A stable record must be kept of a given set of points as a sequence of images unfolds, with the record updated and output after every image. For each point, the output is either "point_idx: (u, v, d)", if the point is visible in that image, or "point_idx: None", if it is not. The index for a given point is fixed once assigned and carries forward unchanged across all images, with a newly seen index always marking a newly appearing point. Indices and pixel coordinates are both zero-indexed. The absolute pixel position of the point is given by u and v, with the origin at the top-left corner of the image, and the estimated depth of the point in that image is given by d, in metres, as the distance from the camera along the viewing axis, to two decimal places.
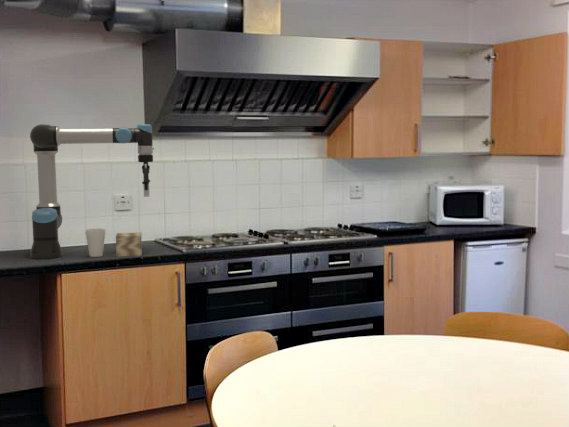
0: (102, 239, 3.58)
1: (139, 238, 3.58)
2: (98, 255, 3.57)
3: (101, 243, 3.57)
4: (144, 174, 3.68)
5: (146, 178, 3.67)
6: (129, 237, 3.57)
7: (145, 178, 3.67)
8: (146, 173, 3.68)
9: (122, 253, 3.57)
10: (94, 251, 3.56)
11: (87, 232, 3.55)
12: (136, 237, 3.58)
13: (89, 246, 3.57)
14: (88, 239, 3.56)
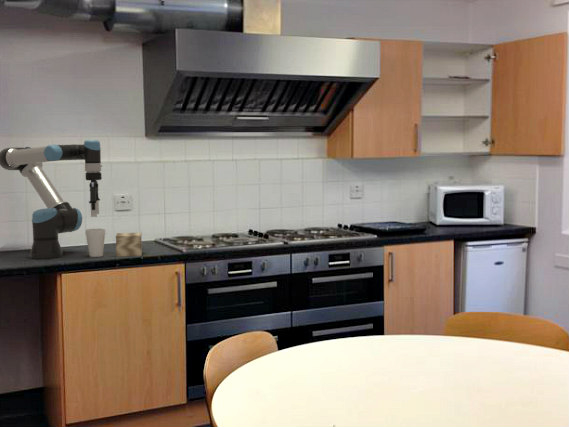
0: (102, 239, 3.58)
1: (139, 238, 3.58)
2: (98, 255, 3.57)
3: (101, 243, 3.57)
4: (91, 193, 3.48)
5: (93, 197, 3.48)
6: (129, 237, 3.57)
7: (92, 197, 3.48)
8: (93, 192, 3.49)
9: (122, 253, 3.57)
10: (94, 251, 3.56)
11: (87, 232, 3.55)
12: (136, 237, 3.58)
13: (89, 246, 3.57)
14: (88, 239, 3.56)
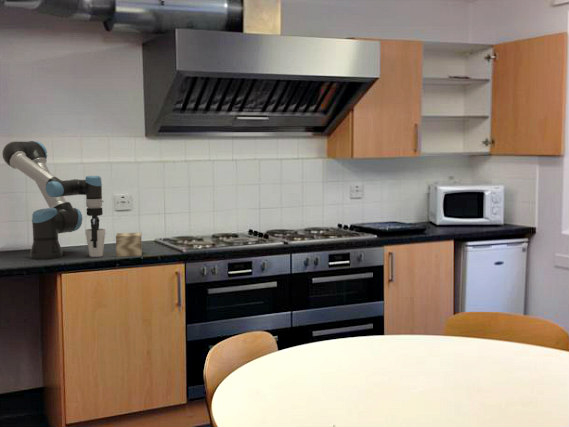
0: (102, 239, 3.58)
1: (139, 238, 3.58)
2: (98, 255, 3.57)
3: (101, 243, 3.57)
4: (92, 231, 3.51)
5: (94, 236, 3.51)
6: (129, 237, 3.57)
7: (93, 236, 3.51)
8: (94, 230, 3.52)
9: (122, 253, 3.57)
10: None
11: (87, 232, 3.55)
12: (136, 237, 3.58)
13: (89, 246, 3.57)
14: (88, 239, 3.56)
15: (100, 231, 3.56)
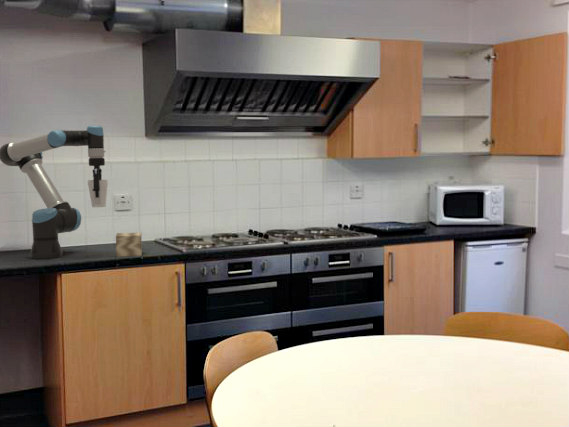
0: (104, 189, 3.55)
1: (139, 238, 3.58)
2: (100, 205, 3.55)
3: (103, 193, 3.55)
4: (94, 180, 3.49)
5: (96, 185, 3.49)
6: (129, 237, 3.57)
7: (95, 185, 3.49)
8: (96, 179, 3.49)
9: (122, 253, 3.57)
10: None
11: (89, 182, 3.53)
12: (136, 237, 3.58)
13: (91, 196, 3.54)
14: (90, 189, 3.54)
15: (102, 181, 3.53)
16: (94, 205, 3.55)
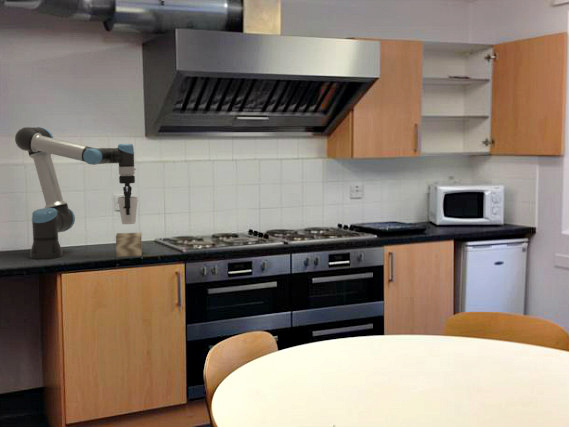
0: (135, 207, 3.60)
1: (139, 238, 3.58)
2: (131, 222, 3.60)
3: (134, 211, 3.59)
4: (125, 198, 3.54)
5: (127, 203, 3.53)
6: (129, 237, 3.57)
7: (126, 203, 3.53)
8: (127, 197, 3.54)
9: (122, 253, 3.57)
10: None
11: (120, 199, 3.57)
12: (136, 237, 3.58)
13: (122, 213, 3.59)
14: (121, 206, 3.58)
15: (133, 198, 3.58)
16: (124, 222, 3.59)
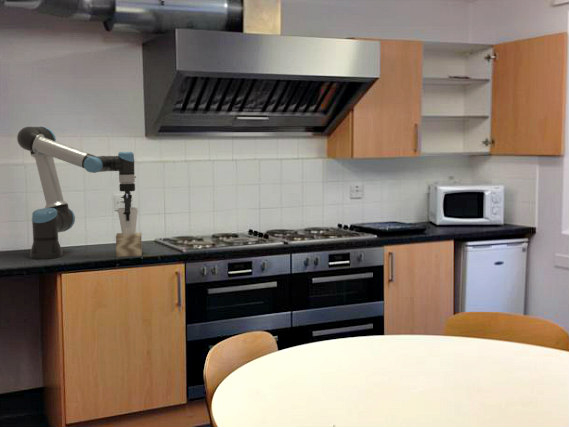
0: (135, 217, 3.60)
1: (139, 238, 3.58)
2: (131, 233, 3.60)
3: (134, 221, 3.60)
4: (125, 204, 3.53)
5: (127, 208, 3.52)
6: (129, 237, 3.57)
7: (126, 208, 3.52)
8: (127, 203, 3.53)
9: (122, 253, 3.57)
10: (127, 229, 3.59)
11: (120, 210, 3.58)
12: (136, 237, 3.58)
13: (122, 224, 3.59)
14: (121, 217, 3.59)
15: (133, 209, 3.58)
16: (124, 233, 3.60)
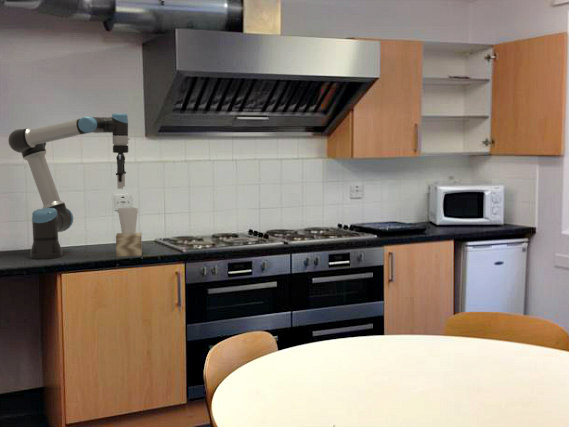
0: (135, 218, 3.60)
1: (139, 238, 3.58)
2: (131, 233, 3.60)
3: (134, 221, 3.60)
4: (118, 165, 3.53)
5: (120, 169, 3.53)
6: (129, 237, 3.57)
7: (119, 169, 3.53)
8: (120, 164, 3.54)
9: (122, 253, 3.57)
10: (127, 229, 3.59)
11: (120, 210, 3.58)
12: (136, 237, 3.58)
13: (122, 224, 3.59)
14: (121, 217, 3.59)
15: (133, 209, 3.58)
16: (124, 233, 3.60)
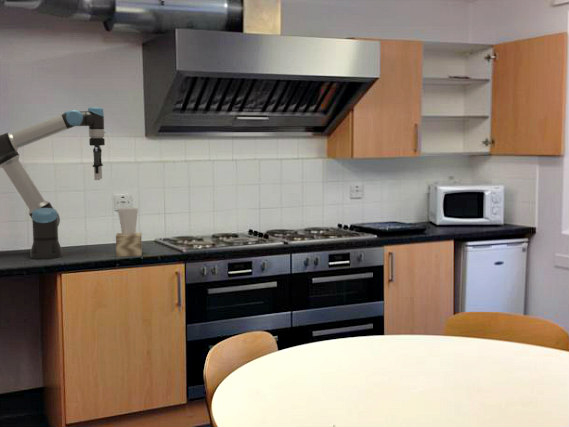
0: (135, 218, 3.60)
1: (139, 238, 3.58)
2: (131, 233, 3.60)
3: (134, 221, 3.60)
4: (94, 157, 3.65)
5: (96, 161, 3.64)
6: (129, 237, 3.57)
7: (95, 161, 3.64)
8: (97, 156, 3.65)
9: (122, 253, 3.57)
10: (127, 229, 3.59)
11: (120, 210, 3.58)
12: (136, 237, 3.58)
13: (122, 224, 3.59)
14: (121, 217, 3.59)
15: (133, 209, 3.58)
16: (124, 233, 3.60)
